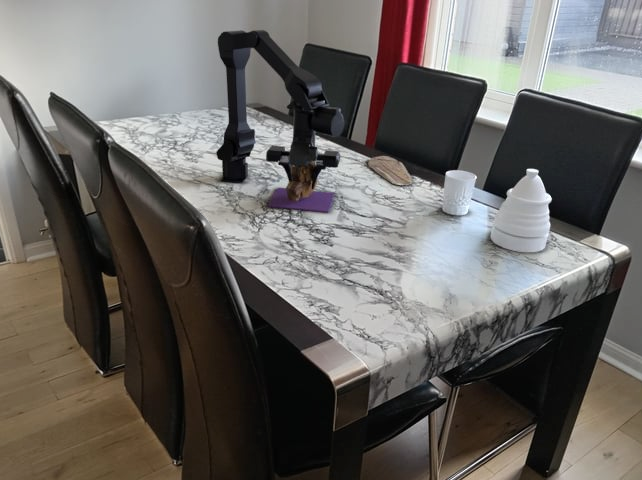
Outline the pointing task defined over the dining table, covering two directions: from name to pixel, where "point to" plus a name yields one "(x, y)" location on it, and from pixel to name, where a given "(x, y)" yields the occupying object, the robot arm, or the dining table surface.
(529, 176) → the honey pot
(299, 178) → the wooden carving
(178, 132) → the dining table surface
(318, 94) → the robot arm
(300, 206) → the cloth
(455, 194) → the white cup
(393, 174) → the fish fossil
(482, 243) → the dining table surface
